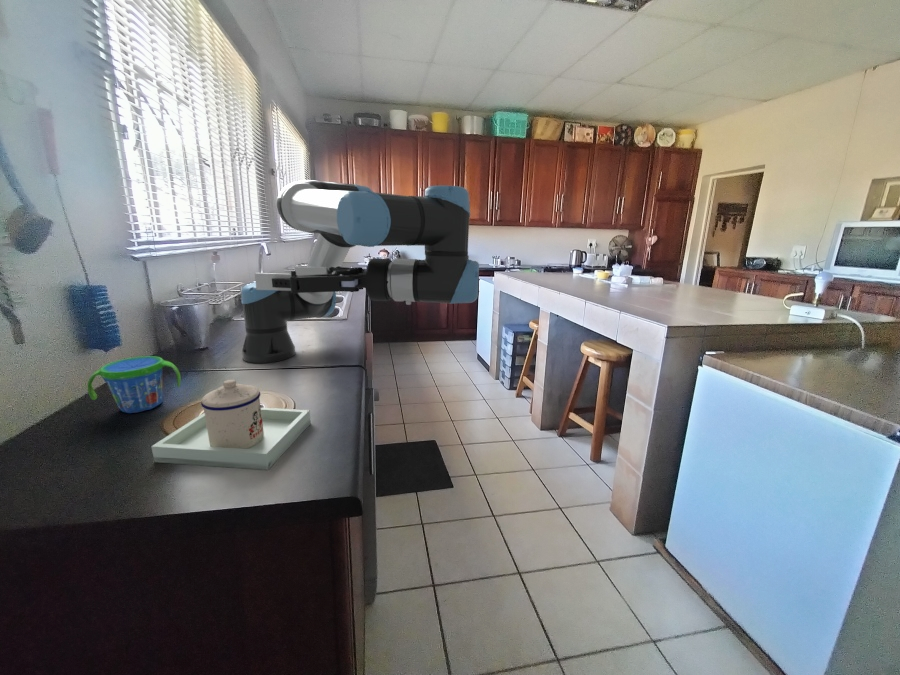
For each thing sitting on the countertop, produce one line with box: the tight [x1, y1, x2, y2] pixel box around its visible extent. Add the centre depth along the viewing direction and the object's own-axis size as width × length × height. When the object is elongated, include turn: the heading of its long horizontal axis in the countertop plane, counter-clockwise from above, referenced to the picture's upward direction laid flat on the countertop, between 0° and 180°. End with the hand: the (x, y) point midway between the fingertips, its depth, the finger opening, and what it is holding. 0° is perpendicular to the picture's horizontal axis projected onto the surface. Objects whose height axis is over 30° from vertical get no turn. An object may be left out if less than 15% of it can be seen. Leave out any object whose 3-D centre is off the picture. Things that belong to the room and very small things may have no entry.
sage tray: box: [150, 406, 311, 471], centre depth 70 cm, size 16×20×3 cm
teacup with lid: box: [200, 379, 264, 449], centre depth 68 cm, size 12×9×12 cm
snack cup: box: [87, 355, 182, 414], centre depth 82 cm, size 16×10×10 cm
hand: (278, 276), depth 69 cm, fingers open, 13 cm apart
